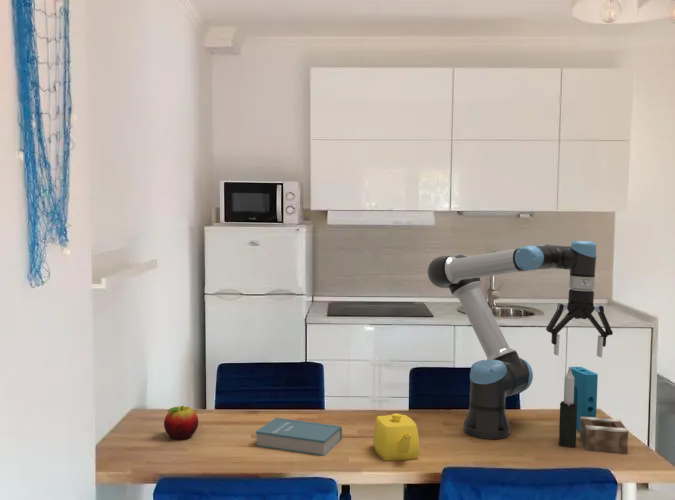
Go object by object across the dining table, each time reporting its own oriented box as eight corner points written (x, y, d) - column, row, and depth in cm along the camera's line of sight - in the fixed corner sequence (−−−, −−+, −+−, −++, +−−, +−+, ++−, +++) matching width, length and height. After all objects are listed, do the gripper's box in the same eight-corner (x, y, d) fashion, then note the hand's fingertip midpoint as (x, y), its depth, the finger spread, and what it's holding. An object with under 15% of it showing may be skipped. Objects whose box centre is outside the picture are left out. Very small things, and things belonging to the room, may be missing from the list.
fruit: (205, 436, 209) (205, 405, 208) (175, 444, 201) (176, 412, 201) (185, 428, 216) (186, 399, 216) (157, 436, 208) (157, 405, 208)
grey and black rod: (575, 443, 209) (578, 365, 208) (575, 448, 204) (578, 369, 203) (558, 441, 211) (561, 364, 210) (558, 446, 206) (561, 367, 205)
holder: (585, 450, 202) (586, 427, 202) (579, 437, 214) (580, 416, 214) (627, 453, 200) (628, 430, 200) (619, 440, 212) (619, 419, 211)
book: (255, 447, 201) (255, 431, 201) (277, 431, 216) (277, 416, 216) (324, 457, 194) (324, 440, 193) (341, 440, 209) (342, 425, 209)
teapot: (427, 464, 188) (428, 424, 187) (386, 467, 185) (387, 426, 185) (405, 441, 208) (406, 405, 207) (368, 443, 205) (369, 406, 204)
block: (596, 433, 219) (598, 374, 218) (582, 433, 218) (584, 374, 217) (579, 422, 231) (580, 366, 230) (565, 422, 230) (567, 366, 229)
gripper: (544, 289, 204) (541, 356, 205) (626, 292, 203) (621, 359, 204) (538, 286, 212) (535, 351, 213) (617, 289, 210) (613, 354, 211)
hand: (577, 355), depth 208 cm, fingers open, 13 cm apart
